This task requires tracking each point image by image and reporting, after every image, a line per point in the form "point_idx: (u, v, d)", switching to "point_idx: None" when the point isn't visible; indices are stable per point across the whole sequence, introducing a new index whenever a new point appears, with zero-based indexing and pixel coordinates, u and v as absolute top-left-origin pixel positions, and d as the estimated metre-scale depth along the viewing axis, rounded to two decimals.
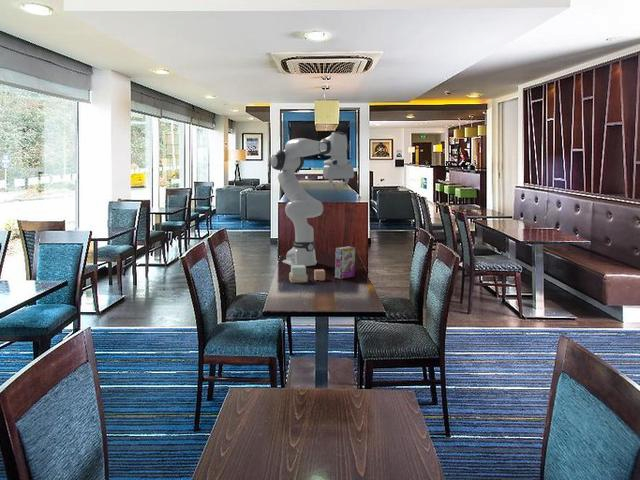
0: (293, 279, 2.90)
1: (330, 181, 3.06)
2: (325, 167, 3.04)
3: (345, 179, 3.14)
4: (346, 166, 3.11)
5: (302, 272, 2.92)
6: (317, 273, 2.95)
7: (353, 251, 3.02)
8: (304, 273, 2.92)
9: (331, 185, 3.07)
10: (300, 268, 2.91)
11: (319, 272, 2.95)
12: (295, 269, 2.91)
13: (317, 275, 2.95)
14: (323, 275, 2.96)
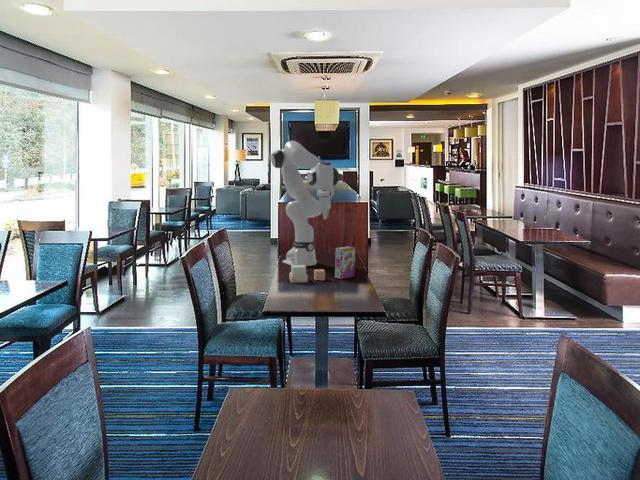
0: (294, 279, 2.90)
1: (324, 213, 2.93)
2: (322, 199, 2.89)
3: None
4: None
5: (303, 272, 2.92)
6: (317, 273, 2.95)
7: (353, 251, 3.02)
8: (304, 273, 2.92)
9: (324, 217, 2.94)
10: (300, 268, 2.91)
11: (319, 272, 2.95)
12: (295, 269, 2.91)
13: (317, 275, 2.95)
14: (323, 275, 2.96)
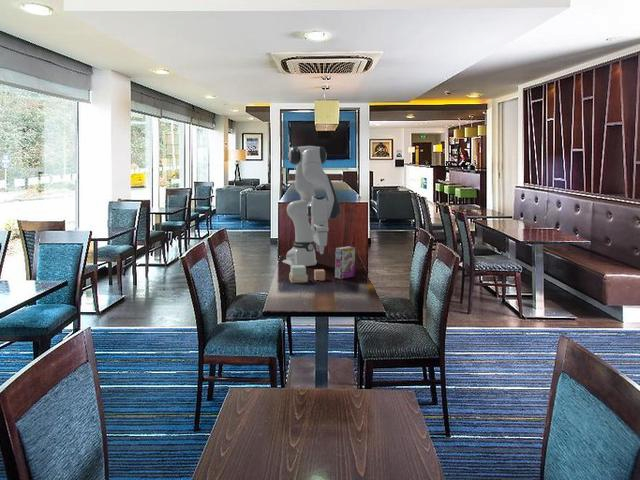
0: (294, 279, 2.90)
1: (322, 248, 2.89)
2: (321, 234, 2.85)
3: (317, 243, 3.00)
4: None
5: (302, 272, 2.92)
6: (317, 273, 2.95)
7: (353, 251, 3.02)
8: (304, 273, 2.92)
9: (322, 252, 2.91)
10: (300, 268, 2.91)
11: (319, 272, 2.95)
12: (295, 269, 2.91)
13: (317, 275, 2.95)
14: (323, 275, 2.96)
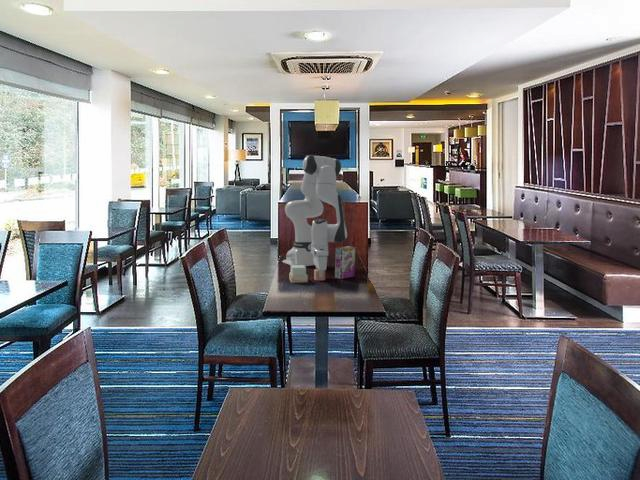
0: (294, 279, 2.90)
1: (321, 271, 2.93)
2: (321, 258, 2.87)
3: (318, 267, 3.01)
4: None
5: (302, 272, 2.91)
6: (317, 273, 2.95)
7: (353, 251, 3.02)
8: (304, 273, 2.91)
9: (320, 275, 2.94)
10: (300, 268, 2.91)
11: None
12: (295, 269, 2.90)
13: (317, 275, 2.95)
14: (323, 275, 2.96)
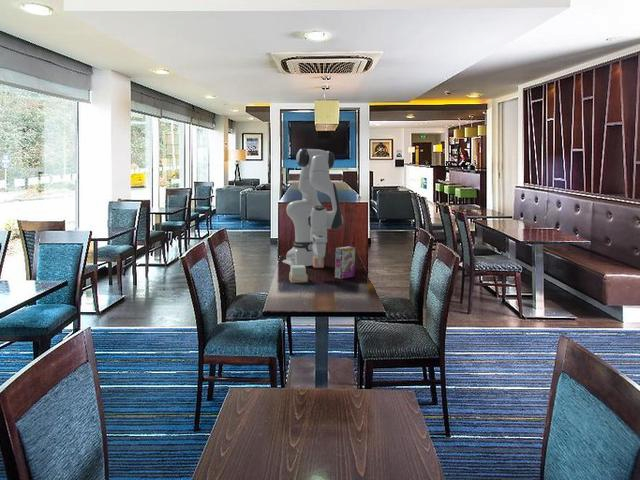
0: (293, 279, 2.90)
1: (320, 258, 2.92)
2: (320, 245, 2.86)
3: (316, 254, 3.00)
4: None
5: (302, 272, 2.91)
6: (316, 260, 2.94)
7: (353, 251, 3.02)
8: (304, 273, 2.91)
9: (319, 262, 2.93)
10: (300, 268, 2.91)
11: None
12: (295, 269, 2.90)
13: (316, 262, 2.94)
14: (322, 262, 2.95)
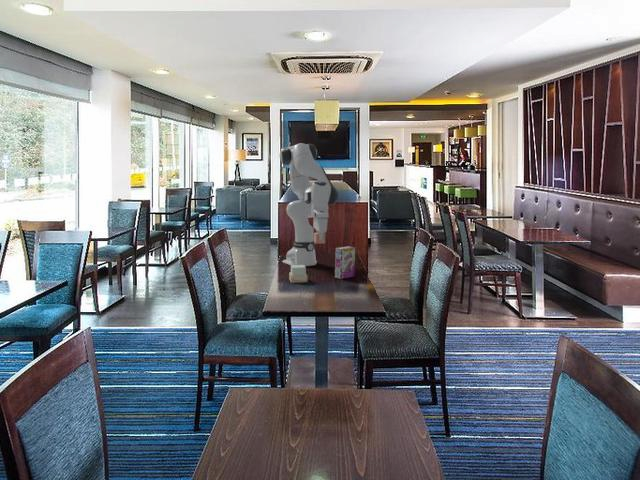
0: (293, 279, 2.90)
1: (321, 234, 2.90)
2: (321, 220, 2.85)
3: (318, 230, 2.98)
4: None
5: (302, 272, 2.91)
6: (317, 236, 2.92)
7: (353, 251, 3.02)
8: (304, 273, 2.92)
9: (321, 238, 2.91)
10: (300, 268, 2.91)
11: None
12: (295, 269, 2.91)
13: (317, 238, 2.93)
14: (323, 238, 2.93)
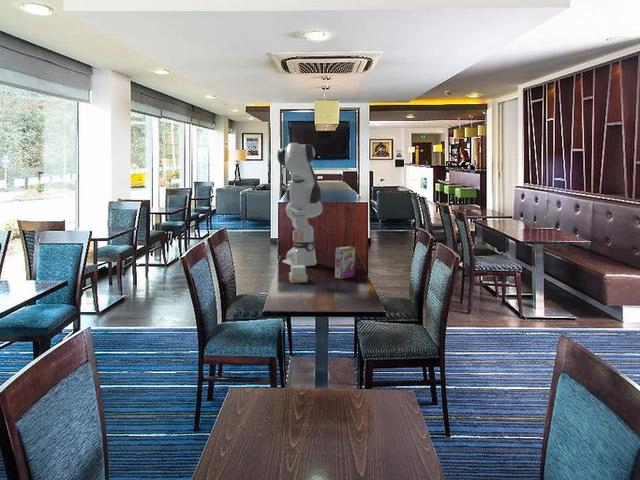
0: (293, 279, 2.91)
1: (299, 232, 2.87)
2: (299, 218, 2.81)
3: (296, 228, 2.95)
4: None
5: (302, 272, 2.91)
6: (295, 234, 2.89)
7: (353, 251, 3.02)
8: (304, 273, 2.92)
9: (299, 236, 2.88)
10: (300, 268, 2.91)
11: None
12: (295, 269, 2.91)
13: (295, 236, 2.89)
14: (302, 236, 2.90)
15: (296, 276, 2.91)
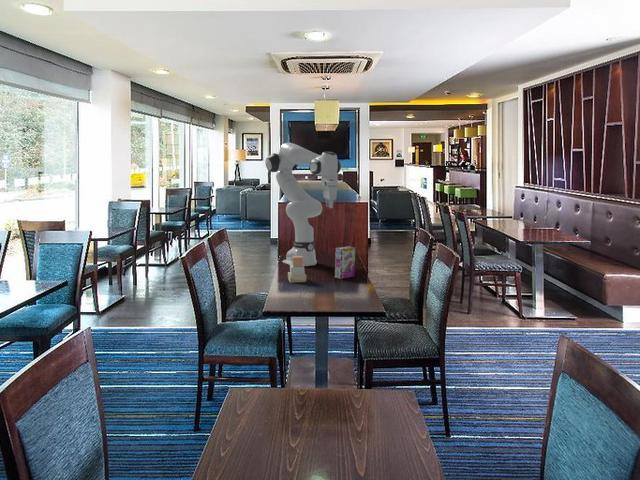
0: (292, 278, 2.91)
1: (332, 202, 3.00)
2: (331, 188, 2.96)
3: (327, 199, 3.11)
4: None
5: (301, 272, 2.92)
6: (295, 259, 2.91)
7: (353, 251, 3.02)
8: (303, 273, 2.92)
9: (331, 206, 3.01)
10: (299, 268, 2.92)
11: (297, 258, 2.91)
12: (294, 269, 2.91)
13: (295, 261, 2.91)
14: (301, 261, 2.92)
15: (295, 276, 2.91)
